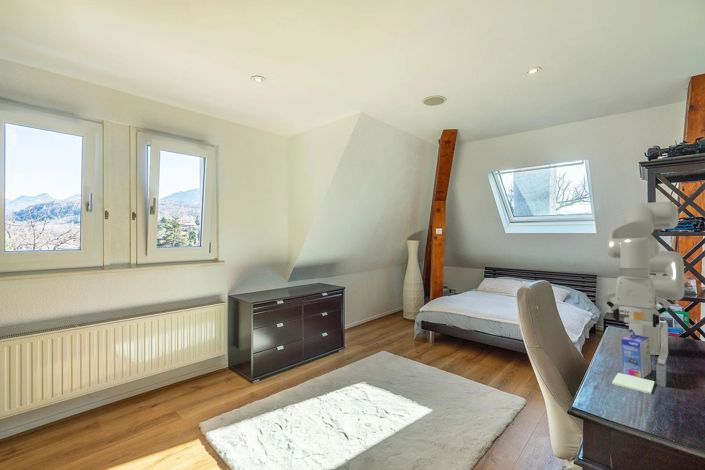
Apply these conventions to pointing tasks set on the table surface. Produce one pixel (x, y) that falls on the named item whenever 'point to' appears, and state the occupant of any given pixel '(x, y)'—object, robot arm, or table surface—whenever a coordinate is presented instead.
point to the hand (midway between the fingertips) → (635, 323)
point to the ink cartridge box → (636, 355)
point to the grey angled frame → (640, 319)
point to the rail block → (661, 374)
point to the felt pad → (634, 383)
